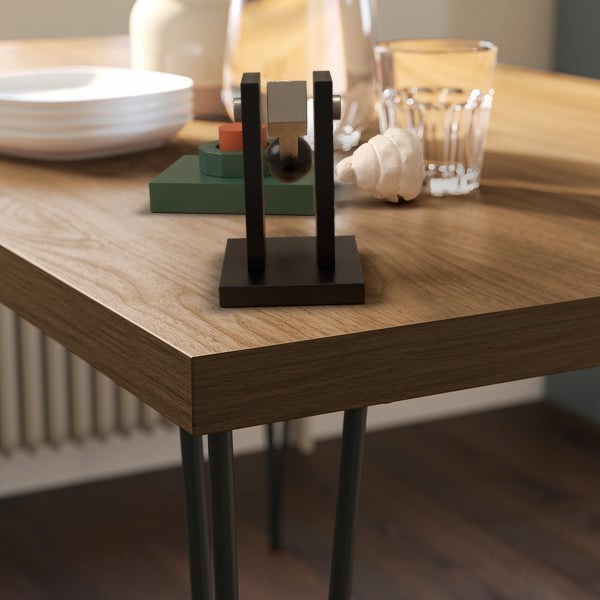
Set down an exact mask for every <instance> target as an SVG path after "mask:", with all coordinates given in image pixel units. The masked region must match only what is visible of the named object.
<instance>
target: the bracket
mask: <svg viewBox="0 0 600 600" xmlns="http://www.w3.org/2000/svg"><path fill="white" fill-rule="evenodd" d="M261 80H262V79H261V72H260V71H259V72H258V71H255V72H252V71H251V72H243V73H242V76H241V81H240V83H239V89H240V90H239V91H240V97H238V96H237V97H233V100H232V107H233V109H232V111H233V123H242V142H243V168H244V193H245V214H244V216H245V217H244V218H245V237H233V238H232V237H231V238H230V237H229V238H227V239H226V244H225V249H224V255H223V261H222V266H221V272H220V276H219V277H220V278H219V284H218V303H219V304H218V305H219V308H233V307H234V308H235V307H237V308H238V307H273V306H274V307H275V306H311V305H312V306H313V305H349V304H351V305H353V304H354V305H356V304H365V303H366V283H365V278H364V273H363V268H362V263H361V259H360V254H359V250H358V249H359V248H358V244H357V240H356V235H354V234H349V235H347V234H345V235H336V220H335V219H336V218H335V217H336V216H335V215H336V213H335V211H336V210H335V151H334V149H335V148H334V147H335V145H334V143H335V140H334V139H335V138H334V121H341V119H342V98H341V94H334V82H333V78H332V74H331V71H330V70H312V113H313V156H314V172H315V213H314V217H315V219H314V220H315V235H310V236H309V235H308V236H306V235H304V236H272V237H271V236H270V237H269V236H268V237H267V228H266V214H265V196H264V166H263V137H262V124H263V113H262V112H263V111H262V109H263V108H262V84H261V83H262V81H261Z"/></svg>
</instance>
